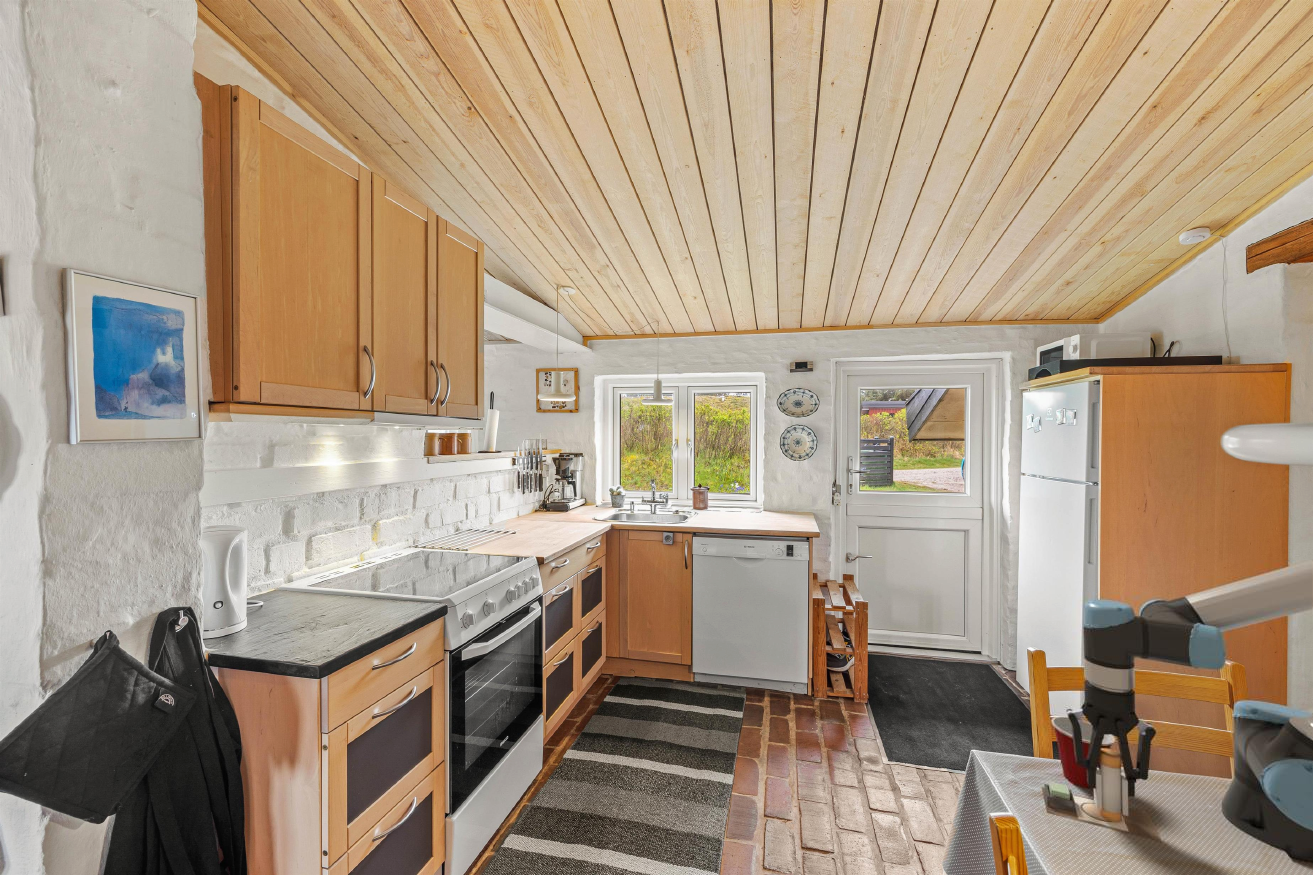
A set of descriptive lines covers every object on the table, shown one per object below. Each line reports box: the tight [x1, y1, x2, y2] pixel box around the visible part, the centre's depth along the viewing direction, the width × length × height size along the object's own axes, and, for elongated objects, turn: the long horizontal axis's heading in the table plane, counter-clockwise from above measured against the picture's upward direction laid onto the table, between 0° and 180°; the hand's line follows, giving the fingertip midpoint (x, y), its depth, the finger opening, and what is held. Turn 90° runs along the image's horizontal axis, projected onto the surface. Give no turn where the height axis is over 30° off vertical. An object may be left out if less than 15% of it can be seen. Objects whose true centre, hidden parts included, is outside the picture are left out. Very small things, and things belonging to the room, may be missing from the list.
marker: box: [1099, 748, 1122, 822], centre depth 108 cm, size 3×3×12 cm
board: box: [1041, 783, 1163, 843], centre depth 109 cm, size 17×9×3 cm, turn 62°
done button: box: [1048, 781, 1070, 800], centre depth 112 cm, size 3×3×2 cm
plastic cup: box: [1050, 716, 1116, 790], centre depth 119 cm, size 11×11×12 cm
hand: (1110, 807), depth 107 cm, fingers closed on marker, 3 cm apart
